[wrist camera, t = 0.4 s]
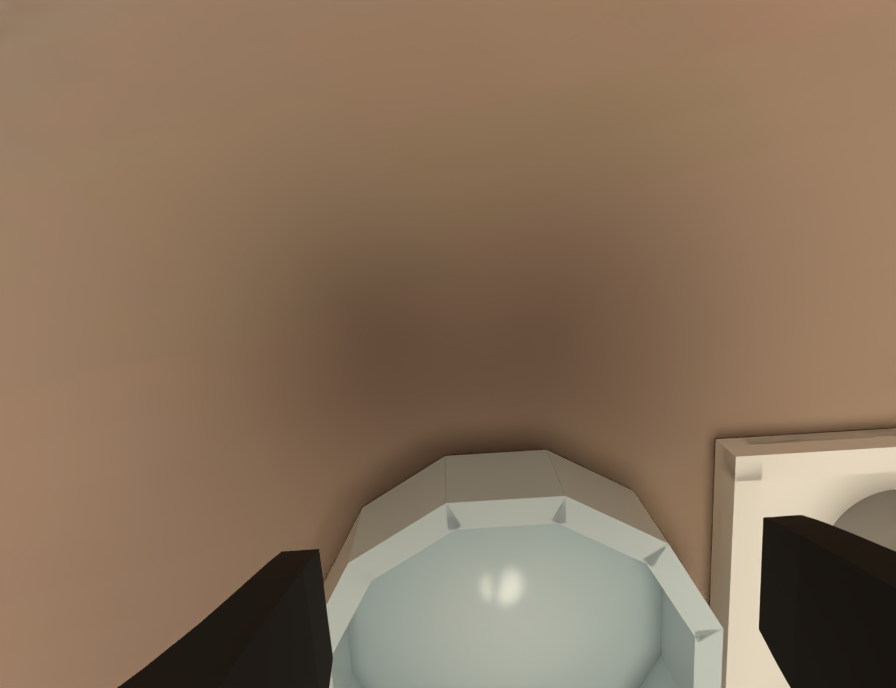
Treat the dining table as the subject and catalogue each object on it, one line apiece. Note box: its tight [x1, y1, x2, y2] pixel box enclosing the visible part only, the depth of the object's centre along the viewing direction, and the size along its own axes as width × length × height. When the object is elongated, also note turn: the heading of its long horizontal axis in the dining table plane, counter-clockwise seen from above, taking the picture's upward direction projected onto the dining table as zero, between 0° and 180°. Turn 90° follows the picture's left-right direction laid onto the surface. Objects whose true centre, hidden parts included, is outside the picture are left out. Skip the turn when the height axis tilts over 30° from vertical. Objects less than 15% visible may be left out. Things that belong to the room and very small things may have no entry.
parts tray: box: [710, 428, 896, 688], centre depth 21 cm, size 15×11×1 cm
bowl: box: [324, 450, 723, 688], centre depth 20 cm, size 12×12×3 cm
